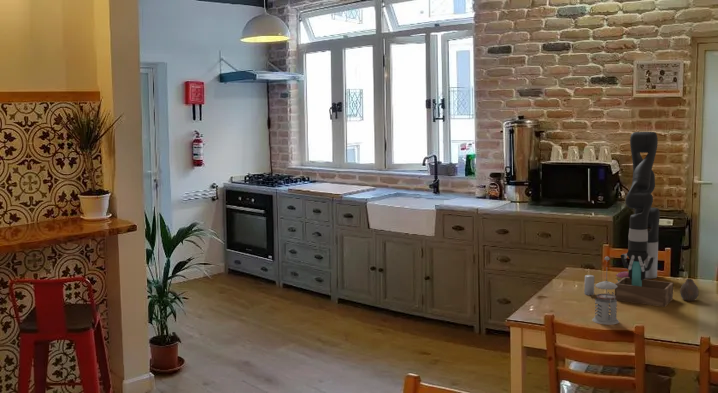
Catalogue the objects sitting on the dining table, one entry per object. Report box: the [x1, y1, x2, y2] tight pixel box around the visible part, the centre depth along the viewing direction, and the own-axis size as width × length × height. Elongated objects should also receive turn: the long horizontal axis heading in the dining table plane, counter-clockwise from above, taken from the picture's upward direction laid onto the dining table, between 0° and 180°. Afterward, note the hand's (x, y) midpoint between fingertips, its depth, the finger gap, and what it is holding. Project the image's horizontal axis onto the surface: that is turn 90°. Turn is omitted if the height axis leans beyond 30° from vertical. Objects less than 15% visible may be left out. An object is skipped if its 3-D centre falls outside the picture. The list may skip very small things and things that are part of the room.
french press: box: [591, 256, 620, 326], centre depth 270 cm, size 10×12×25 cm
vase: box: [679, 278, 699, 302], centre depth 298 cm, size 7×7×9 cm
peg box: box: [614, 277, 674, 308], centre depth 300 cm, size 14×20×7 cm
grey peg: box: [583, 274, 595, 296], centre depth 311 cm, size 4×4×8 cm
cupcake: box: [615, 262, 630, 282], centre depth 321 cm, size 9×8×12 cm
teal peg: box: [632, 261, 642, 287], centre depth 301 cm, size 4×4×12 cm
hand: (636, 278), depth 302 cm, fingers closed on teal peg, 4 cm apart
